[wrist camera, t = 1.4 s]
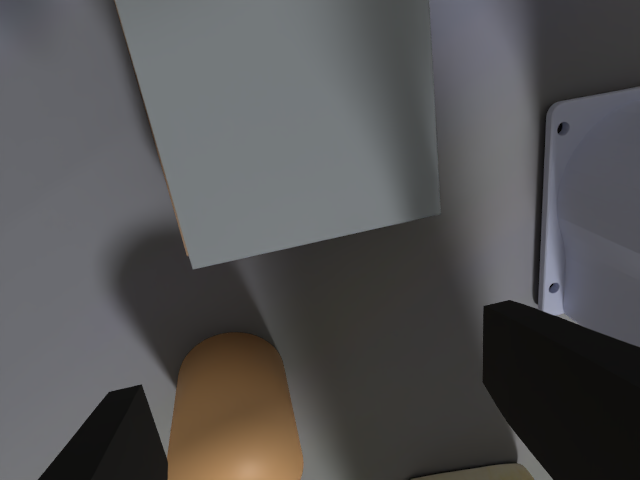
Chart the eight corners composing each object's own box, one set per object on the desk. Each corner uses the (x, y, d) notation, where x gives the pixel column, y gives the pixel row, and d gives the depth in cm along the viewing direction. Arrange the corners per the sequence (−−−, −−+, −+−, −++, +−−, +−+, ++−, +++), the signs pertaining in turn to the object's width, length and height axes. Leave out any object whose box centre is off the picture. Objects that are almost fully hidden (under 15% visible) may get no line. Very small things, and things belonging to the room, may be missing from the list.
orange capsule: (292, 404, 21) (312, 502, 16) (192, 430, 20) (184, 539, 15) (274, 321, 19) (291, 403, 14) (165, 346, 18) (147, 440, 14)
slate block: (391, 180, 14) (440, 214, 11) (199, 221, 14) (192, 269, 10) (370, -39, 12) (425, -76, 9) (137, -6, 11) (105, -33, 8)
